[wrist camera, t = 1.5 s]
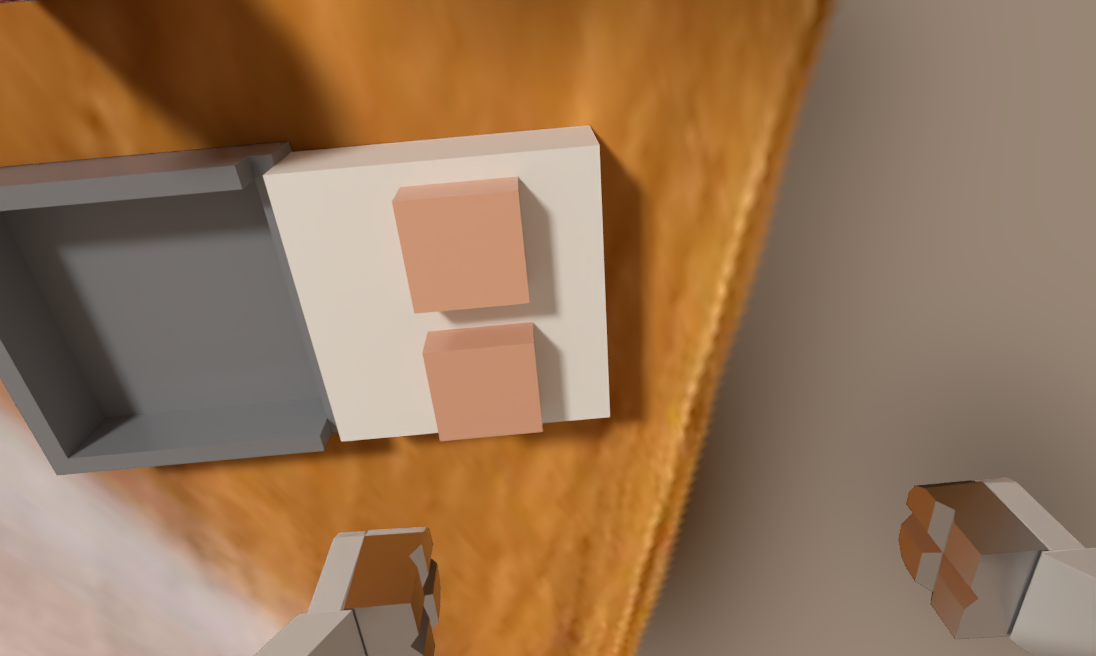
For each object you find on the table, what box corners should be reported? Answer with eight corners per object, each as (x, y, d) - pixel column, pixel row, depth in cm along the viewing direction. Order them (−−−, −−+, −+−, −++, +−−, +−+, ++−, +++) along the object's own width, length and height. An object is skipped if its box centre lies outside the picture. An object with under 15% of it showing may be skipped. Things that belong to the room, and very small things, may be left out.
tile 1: (399, 187, 27) (391, 201, 25) (517, 176, 27) (518, 190, 25) (420, 293, 30) (414, 313, 28) (528, 283, 30) (529, 303, 28)
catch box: (-34, 169, 30) (-107, 196, 26) (288, 141, 30) (258, 163, 26) (100, 427, 37) (56, 475, 34) (359, 404, 37) (343, 449, 34)
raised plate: (291, 151, 30) (262, 175, 27) (589, 124, 30) (599, 144, 27) (357, 397, 37) (341, 441, 33) (601, 375, 37) (610, 417, 34)
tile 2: (427, 331, 31) (422, 353, 29) (532, 321, 31) (533, 342, 29) (443, 416, 33) (439, 441, 31) (541, 407, 33) (543, 431, 31)
